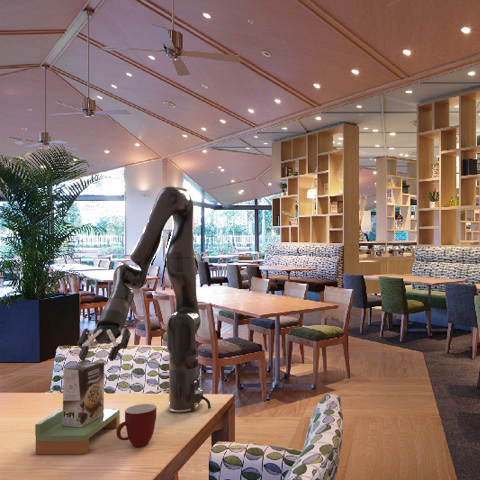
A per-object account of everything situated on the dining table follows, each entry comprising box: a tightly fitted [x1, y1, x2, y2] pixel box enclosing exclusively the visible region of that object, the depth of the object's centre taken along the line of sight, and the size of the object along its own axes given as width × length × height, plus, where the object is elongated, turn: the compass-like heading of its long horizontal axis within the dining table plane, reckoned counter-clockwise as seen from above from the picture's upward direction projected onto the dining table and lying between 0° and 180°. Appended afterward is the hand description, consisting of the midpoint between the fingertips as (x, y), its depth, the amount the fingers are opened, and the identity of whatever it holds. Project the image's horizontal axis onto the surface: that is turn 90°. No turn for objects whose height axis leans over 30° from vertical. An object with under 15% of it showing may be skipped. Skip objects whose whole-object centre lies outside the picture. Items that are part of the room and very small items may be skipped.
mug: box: [115, 403, 157, 448], centre depth 135 cm, size 10×8×10 cm
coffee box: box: [62, 361, 105, 428], centre depth 140 cm, size 9×6×16 cm
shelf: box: [34, 407, 121, 455], centre depth 140 cm, size 13×20×8 cm, turn 2°
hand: (96, 359), depth 146 cm, fingers open, 8 cm apart
